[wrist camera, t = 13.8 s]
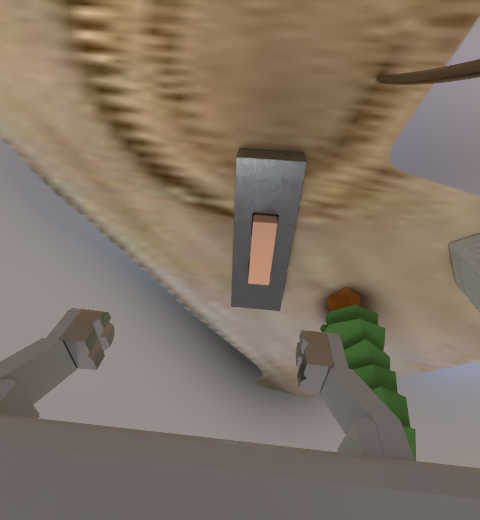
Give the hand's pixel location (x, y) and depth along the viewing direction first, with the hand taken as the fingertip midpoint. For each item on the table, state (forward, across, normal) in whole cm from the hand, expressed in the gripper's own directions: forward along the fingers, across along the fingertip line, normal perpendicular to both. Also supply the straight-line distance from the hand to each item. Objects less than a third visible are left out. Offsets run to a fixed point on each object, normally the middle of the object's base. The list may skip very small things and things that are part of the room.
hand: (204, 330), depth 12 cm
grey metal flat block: (+29, -3, +12) cm, 32 cm away
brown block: (+29, -3, +12) cm, 32 cm away
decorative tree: (+29, -18, +25) cm, 42 cm away
